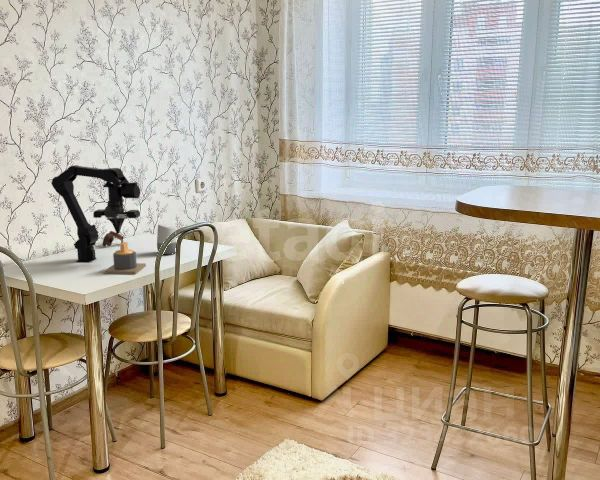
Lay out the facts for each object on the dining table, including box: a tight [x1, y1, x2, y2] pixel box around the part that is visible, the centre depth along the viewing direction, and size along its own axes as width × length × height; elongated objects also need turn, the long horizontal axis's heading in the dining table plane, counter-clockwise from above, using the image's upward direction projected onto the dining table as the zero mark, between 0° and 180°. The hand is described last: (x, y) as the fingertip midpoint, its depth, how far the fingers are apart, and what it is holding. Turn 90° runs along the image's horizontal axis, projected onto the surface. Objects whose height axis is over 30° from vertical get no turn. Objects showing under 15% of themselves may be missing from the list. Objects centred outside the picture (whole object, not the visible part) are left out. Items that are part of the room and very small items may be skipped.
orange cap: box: [114, 241, 134, 255], centre depth 247 cm, size 7×7×6 cm
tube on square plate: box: [103, 250, 147, 275], centre depth 248 cm, size 13×13×7 cm
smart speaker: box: [156, 223, 178, 255], centre depth 276 cm, size 10×9×14 cm
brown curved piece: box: [101, 230, 125, 248], centre depth 292 cm, size 12×10×8 cm
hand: (118, 233), depth 259 cm, fingers closed
